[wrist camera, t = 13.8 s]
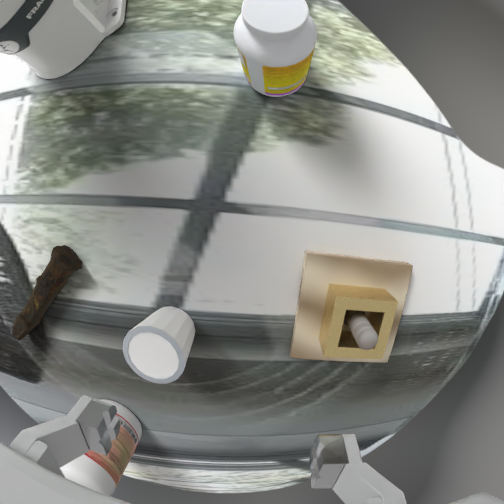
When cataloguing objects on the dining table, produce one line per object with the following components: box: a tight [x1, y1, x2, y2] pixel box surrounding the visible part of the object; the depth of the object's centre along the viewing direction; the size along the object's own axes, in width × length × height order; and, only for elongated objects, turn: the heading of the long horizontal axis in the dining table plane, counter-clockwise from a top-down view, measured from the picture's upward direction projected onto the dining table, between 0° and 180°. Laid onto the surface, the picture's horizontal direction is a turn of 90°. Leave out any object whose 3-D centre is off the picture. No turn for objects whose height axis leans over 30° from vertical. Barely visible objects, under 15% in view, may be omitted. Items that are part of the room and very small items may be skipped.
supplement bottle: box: [234, 0, 317, 97], centre depth 22 cm, size 7×7×13 cm
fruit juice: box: [60, 399, 142, 497], centre depth 26 cm, size 9×9×28 cm
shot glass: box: [123, 306, 195, 383], centre depth 32 cm, size 7×7×7 cm
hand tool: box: [12, 245, 82, 340], centre depth 34 cm, size 19×4×5 cm, turn 131°
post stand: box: [290, 251, 413, 362], centre depth 29 cm, size 12×12×8 cm
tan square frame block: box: [319, 284, 398, 359], centre depth 30 cm, size 6×6×4 cm
